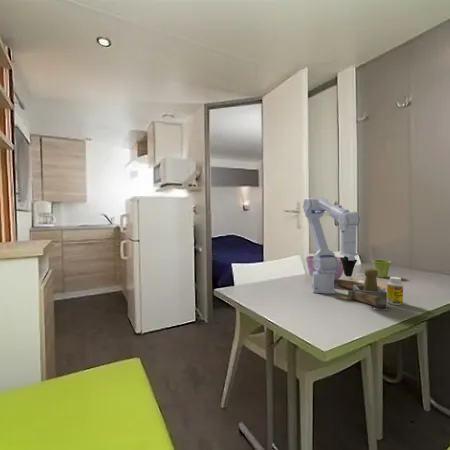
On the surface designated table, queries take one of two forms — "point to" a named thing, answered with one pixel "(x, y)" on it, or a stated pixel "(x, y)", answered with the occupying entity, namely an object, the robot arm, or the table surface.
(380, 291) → the tray
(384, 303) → the crank
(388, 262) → the plant pot
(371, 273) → the olive rounded piece
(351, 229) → the robot arm
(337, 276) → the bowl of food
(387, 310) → the crank base
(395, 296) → the supplement bottle
